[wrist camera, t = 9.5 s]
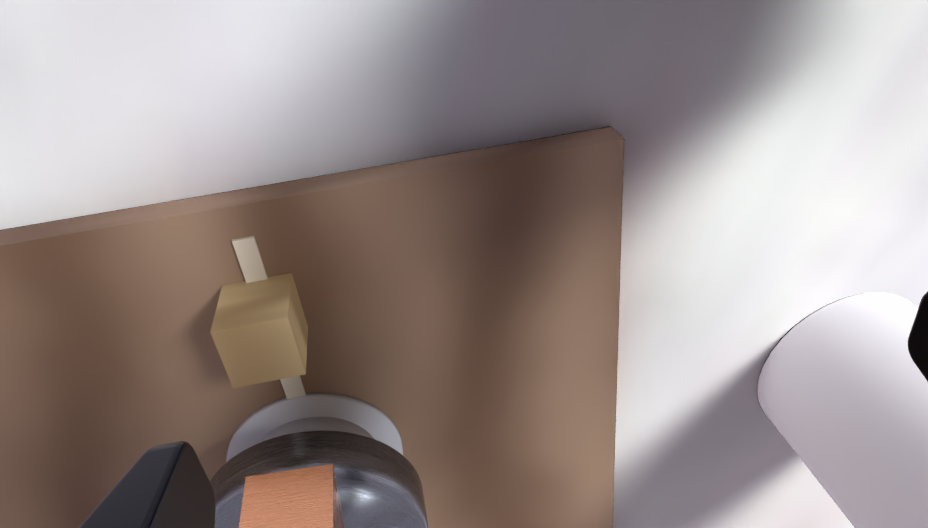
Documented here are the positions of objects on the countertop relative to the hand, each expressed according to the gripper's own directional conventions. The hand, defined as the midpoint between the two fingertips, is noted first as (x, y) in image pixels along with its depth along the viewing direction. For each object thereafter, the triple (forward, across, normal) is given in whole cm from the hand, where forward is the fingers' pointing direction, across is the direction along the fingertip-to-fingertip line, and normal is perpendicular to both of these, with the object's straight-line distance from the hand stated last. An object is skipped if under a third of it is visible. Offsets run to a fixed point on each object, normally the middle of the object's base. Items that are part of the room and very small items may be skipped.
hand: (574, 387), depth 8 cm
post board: (+12, +6, +12) cm, 18 cm away
